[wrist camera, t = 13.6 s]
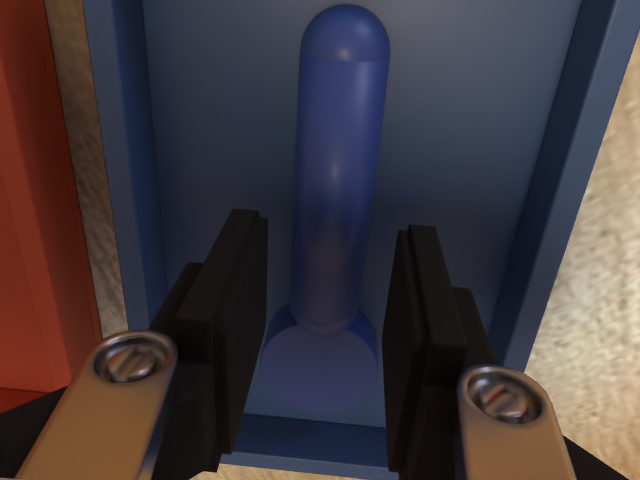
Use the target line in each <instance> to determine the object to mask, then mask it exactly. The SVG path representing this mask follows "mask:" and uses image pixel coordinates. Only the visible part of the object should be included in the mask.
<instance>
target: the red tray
mask: <svg viewBox="0 0 640 480" xmlns="http://www.w3.org/2000/svg"><path fill="white" fill-rule="evenodd" d="M101 340H102V336H101V330H100V324H99V318H98V313H97V307H96V301H95V296H94V290H93V284H92V278H91V273H90V267H89V261H88V255H87V250H86V244H85V238H84V233H83V227H82V221H81V215H80V210H79V204H78V198H77V192H76V187H75V181H74V175H73V170H72V164H71V158H70V152H69V147H68V141H67V135H66V129H65V124H64V118H63V112H62V107H61V101H60V95H59V89H58V84H57V78H56V72H55V66H54V61H53V55H52V49H51V43H50V38H49V32H48V26H47V21H46V15H45V9H44V3H43V0H0V413H3V412H5V411H7V410H10V409H12V408H15V407H17V406H19V405H22V404H24V403H27V402H29V401H31V400H34V399H36V398H39V397H41V396H43V395H46V394H48V393H50V392H53V391H55V390H58V389H60V388H62V387H65V386H67V385H69V383H70V381H71V380H72V378H73V376H74V374H75V373H76V371H77V369H78V368H79V366H80V364H81V362H82V361H83V359H84V357H85V356H86V354H87V353H88V352H89V351H90V349H91V348H92V347H93V346H94V345H96V344H97V343H99V342H100V341H101Z"/></svg>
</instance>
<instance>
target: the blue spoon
mask: <svg viewBox="0 0 640 480" xmlns="http://www.w3.org/2000/svg"><path fill="white" fill-rule="evenodd" d="M389 62H390V42H389V37H388V34H387V32H386V29H385V28H384V26H383V24H382V23H381V21H380V20H379V19H378V18H377V17H376V16H375V15H374V14H373V13H372V12H370V11H369V10H367V9H365V8H363V7H361V6H358V5H353V4H338V5H334V6H331V7H329V8H327V9H325V10H323V11H321V12H320V13H319V14H317V15H316V16H315V17H314V18H313V19H312V20H311V22H310V23H309V24H308V26H307V28H306V30H305V31H304V34H303V37H302V40H301V47H300V58H299V81H298V104H297V128H296V151H295V174H294V197H293V220H292V244H291V267H290V290H289V305H287V306H286V307H284V308H283V309H282V310H280V311H279V312H278V313H277V314H276V315H275V316H274V318H273V319H272V321H271V323H270V325H269V327H268V331H267V335H266V338H265V342H264V346H263V350H262V354H261V357H260V370H261V375H262V377H263V380H264V382H265V384H266V385H267V387H268V388H269V390H270V391H271V392H272V393H273V394H274V395H275V396H276V397H277V398H279V399H280V400H281V401H283V402H284V403H286V404H288V405H290V406H292V407H294V408H297V409H300V410H303V411H307V412H314V413H332V412H338V411H342V410H345V409H348V408H351V407H353V406H355V405H357V404H358V403H360V402H361V401H362V400H364V399H365V398H366V397H367V396H368V395H369V393H370V392H371V391H372V389H373V387H374V385H375V383H376V380H377V376H378V352H377V337H376V333H375V330H374V328H373V326H372V324H371V323H370V321H369V320H368V319H367V318H366V317H365V315H364V314H362V313H361V312H360V311H359V305H360V297H361V289H362V281H363V273H364V265H365V257H366V249H367V240H368V232H369V224H370V216H371V208H372V200H373V192H374V184H375V176H376V167H377V159H378V151H379V143H380V135H381V127H382V119H383V111H384V103H385V94H386V86H387V78H388V70H389Z"/></svg>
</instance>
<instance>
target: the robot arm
mask: <svg viewBox="0 0 640 480" xmlns="http://www.w3.org/2000/svg"><path fill="white" fill-rule="evenodd" d="M267 258H268V218H264V217H260V215H259V211H258V210H248V209H237V208H233V209H232V210H231V212H230V214H229V216H228V218H227V220H226V222H225V224H224V226H223V227H222V229H221V231H220V233H219V235H218V237H217V239H216V241H215V242H214V244H213V246H212V248H211V250H210V252H209V254H208V256H207V258H206V259H205V261H204V263H198V262H188V263H187V264H186V265H185V267H184V268H183V270H182V272H181V274H180V275H179V277H178V279H177V280H176V282H175V284H174V285H173V287H172V289H171V291H170V292H169V294H168V296H167V297H166V299H165V301H164V303H163V304H162V306H161V308H160V309H159V311H158V313H157V314H156V316H155V318H154V320H153V321H152V323H151V325H150V326H149V328H148V330H147V329H137V330H128V331H124V332H119V333H116V334H114V335H111V336H109V337H107V338H104V339H103V340H101V341H100V342H99V343H97V344H96V345H94V346H93V347H92V348H91V349H90V351H89V352H88V353H87V354H86V356H85V357H84V359H83V361H82V362H81V364H80V366H79V368H78V369H77V371H76V373H75V374H74V376H73V378H72V380H71V381H70V383H69V385H67V386H65V387H62V388H60V389H58V390H55V391H53V392H50V393H48V394H46V395H43V396H41V397H39V398H36V399H34V400H31V401H29V402H27V403H24V404H22V405H19V406H17V407H15V408H12V409H10V410H7V411H5V412H3V413H0V480H189V479H191V478H192V477H194V476H196V475H197V474H199V473H201V472H202V471H207V472H216V473H217V470H218V466H219V463H220V459H221V456H222V454H227V455H231V454H232V452H233V449H234V445H235V442H236V438H237V434H238V430H239V427H240V423H241V419H242V415H243V411H244V408H245V404H246V400H247V396H248V393H249V389H250V385H251V381H252V378H253V374H254V370H255V366H256V363H257V359H258V355H259V351H260V348H261V344H262V340H263V336H264V332H265V327H266V311H267ZM382 358H383V378H384V398H385V419H386V439H387V459H388V470H389V472H395V473H399V480H629V479H627V478H626V477H624V476H623V475H621V474H620V473H618V472H617V471H615V470H614V469H612V468H611V467H609V466H608V465H606V464H605V463H604V462H602V461H601V460H599V459H598V458H596V457H595V456H593V455H592V454H590V453H589V452H587V451H586V450H584V449H583V448H581V447H580V446H578V445H577V444H575V443H574V442H572V441H571V440H569V439H568V438H566V437H565V436H563V435H562V432H561V429H560V426H559V423H558V420H557V417H556V414H555V411H554V408H553V404H552V402H551V400H550V398H549V396H548V394H547V392H546V391H545V390H544V389H543V388H542V387H541V386H540V385H539V384H538V383H537V382H536V381H534V380H533V379H532V378H530V377H529V376H527V375H526V374H524V373H522V372H520V371H517V370H515V369H513V368H510V367H506V366H502V365H499V364H496V363H495V360H494V357H493V354H492V351H491V348H490V345H489V342H488V339H487V336H486V333H485V330H484V327H483V324H482V321H481V318H480V315H479V312H478V309H477V306H476V303H475V300H474V297H473V294H472V292H471V290H470V289H469V288H462V287H452V285H451V281H450V278H449V274H448V270H447V267H446V263H445V260H444V256H443V252H442V249H441V245H440V241H439V238H438V234H437V231H436V228H435V226H424V225H413V224H409V226H408V229H407V231H406V230H399V231H398V235H397V241H396V247H395V254H394V260H393V267H392V273H391V279H390V286H389V292H388V299H387V305H386V312H385V318H384V324H383V332H382Z"/></svg>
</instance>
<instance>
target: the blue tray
mask: <svg viewBox="0 0 640 480" xmlns="http://www.w3.org/2000/svg"><path fill="white" fill-rule="evenodd" d="M338 4H353V5H358V6H361V7H363V8H365V9H367V10H369V11H370V12H372V13H373V14H374V15H375V16H376V17H377V18H378V19H379V20H380V21H381V23H382V24H383V26H384V28H385V29H386V32H387V34H388V37H389V42H390V62H389V70H388V78H387V86H386V94H385V103H384V111H383V119H382V127H381V135H380V143H379V151H378V159H377V167H376V176H375V184H374V192H373V200H372V208H371V216H370V224H369V232H368V240H367V249H366V257H365V265H364V273H363V281H362V289H361V297H360V305H359V311H360V312H361V313H362V314H364V315H365V317H366V318H367V319H368V320H369V321H370V323H371V324H372V326H373V328H374V330H375V333H376V337H377V352H378V376H377V380H376V383H375V385H374V387H373V389H372V391H371V392H370V393H369V395H368V396H367V397H366V398H365V399H364V400H362V401H361V402H360V403H358V404H357V405H355V406H353V407H351V408H348V409H345V410H342V411H338V412H332V413H314V412H307V411H303V410H300V409H297V408H294V407H292V406H290V405H288V404H286V403H284V402H283V401H281V400H280V399H279V398H277V397H276V396H275V395H274V394H273V393H272V392H271V391H270V390H269V388H268V387H267V385H266V384H265V382H264V380H263V377H262V375H261V370H260V357H261V354H262V350H263V346H264V342H265V338H266V335H267V331H268V327H269V325H270V323H271V321H272V319H273V318H274V316H275V315H276V314H277V313H278V312H279V311H280V310H282V309H283V308H284V307H286V306H287V305H289V290H290V267H291V244H292V220H293V197H294V174H295V151H296V128H297V104H298V81H299V58H300V47H301V40H302V37H303V34H304V31H305V30H306V28H307V26H308V24H309V23H310V22H311V20H312V19H313V18H314V17H315V16H316V15H317V14H319V13H320V12H321V11H323V10H325V9H327V8H329V7H331V6H334V5H338ZM82 5H83V12H84V19H85V26H86V33H87V40H88V47H89V54H90V61H91V68H92V75H93V82H94V90H95V97H96V104H97V111H98V118H99V125H100V132H101V139H102V146H103V153H104V160H105V167H106V174H107V181H108V188H109V195H110V202H111V209H112V216H113V224H114V231H115V238H116V245H117V252H118V259H119V266H120V273H121V280H122V287H123V294H124V301H125V308H126V315H127V322H128V329H129V330H137V329H147V330H148V328H149V326H150V325H151V323H152V321H153V320H154V318H155V316H156V314H157V313H158V311H159V309H160V308H161V306H162V304H163V303H164V301H165V299H166V297H167V296H168V294H169V292H170V291H171V289H172V287H173V285H174V284H175V282H176V280H177V279H178V277H179V275H180V274H181V272H182V270H183V268H184V267H185V265H186V264H187V263H188V262H198V263H204V261H205V259H206V258H207V256H208V254H209V252H210V250H211V248H212V246H213V244H214V242H215V241H216V239H217V237H218V235H219V233H220V231H221V229H222V227H223V226H224V224H225V222H226V220H227V218H228V216H229V214H230V212H231V210H232V209H233V208H237V209H248V210H258V211H259V215H260V217H264V218H268V258H267V311H266V327H265V332H264V336H263V340H262V344H261V348H260V351H259V355H258V359H257V363H256V366H255V370H254V374H253V378H252V381H251V385H250V389H249V393H248V396H247V400H246V404H245V408H244V411H243V415H242V419H241V423H240V427H239V430H238V434H237V438H236V442H235V445H234V449H233V452H232V454H231V455H227V454H222V456H221V459H220V463H222V464H231V465H240V466H249V467H259V468H268V469H277V470H286V471H295V472H304V473H313V474H323V475H332V476H341V477H350V478H359V479H368V480H399V473H395V472H389V470H388V459H387V439H386V419H385V398H384V378H383V358H382V332H383V324H384V318H385V312H386V305H387V299H388V292H389V286H390V279H391V273H392V267H393V260H394V254H395V247H396V241H397V235H398V231H399V230H406V231H407V229H408V226H409V224H413V225H424V226H435V228H436V231H437V234H438V238H439V241H440V245H441V249H442V252H443V256H444V260H445V263H446V267H447V270H448V274H449V278H450V281H451V285H452V287H462V288H469V289H470V290H471V292H472V294H473V297H474V300H475V303H476V306H477V309H478V312H479V315H480V318H481V321H482V324H483V327H484V330H485V333H486V336H487V339H488V342H489V345H490V348H491V351H492V354H493V357H494V360H495V363H496V364H499V365H502V366H506V367H510V368H513V369H515V370H517V371H520V372H522V373H524V371H525V368H526V365H527V362H528V359H529V356H530V353H531V350H532V347H533V344H534V341H535V338H536V335H537V332H538V329H539V326H540V324H541V321H542V318H543V315H544V312H545V309H546V306H547V303H548V300H549V297H550V294H551V291H552V288H553V285H554V282H555V279H556V276H557V273H558V270H559V267H560V264H561V261H562V258H563V255H564V252H565V249H566V246H567V243H568V240H569V238H570V235H571V232H572V229H573V226H574V223H575V220H576V217H577V214H578V211H579V208H580V205H581V202H582V199H583V196H584V193H585V190H586V187H587V184H588V181H589V178H590V175H591V172H592V169H593V166H594V163H595V160H596V157H597V154H598V151H599V149H600V146H601V143H602V140H603V137H604V134H605V131H606V128H607V125H608V122H609V119H610V116H611V113H612V110H613V107H614V104H615V101H616V98H617V95H618V92H619V89H620V86H621V83H622V80H623V77H624V74H625V71H626V68H627V65H628V63H629V60H630V57H631V54H632V51H633V48H634V45H635V42H636V39H637V36H638V33H639V30H640V0H82Z"/></svg>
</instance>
